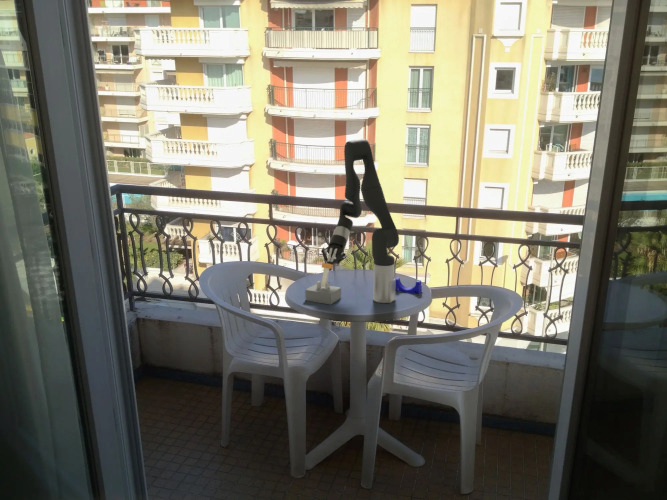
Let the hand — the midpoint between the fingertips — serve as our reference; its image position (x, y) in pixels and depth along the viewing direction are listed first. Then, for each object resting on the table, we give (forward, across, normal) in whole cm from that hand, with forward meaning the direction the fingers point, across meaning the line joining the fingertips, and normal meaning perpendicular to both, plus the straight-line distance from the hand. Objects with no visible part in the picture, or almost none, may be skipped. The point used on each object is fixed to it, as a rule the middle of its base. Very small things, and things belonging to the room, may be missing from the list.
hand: (328, 270), depth 272 cm
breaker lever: (+9, 0, +1) cm, 9 cm away
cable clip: (-7, +31, +26) cm, 41 cm away
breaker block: (+13, 0, +5) cm, 13 cm away
